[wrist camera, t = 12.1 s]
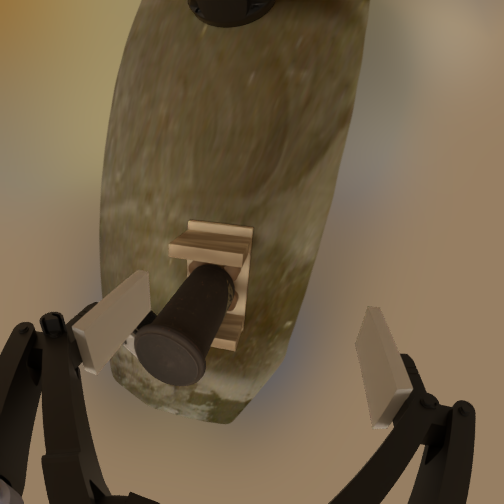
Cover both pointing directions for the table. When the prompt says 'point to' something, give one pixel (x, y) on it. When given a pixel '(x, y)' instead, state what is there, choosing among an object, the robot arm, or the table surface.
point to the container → (186, 327)
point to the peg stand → (225, 256)
